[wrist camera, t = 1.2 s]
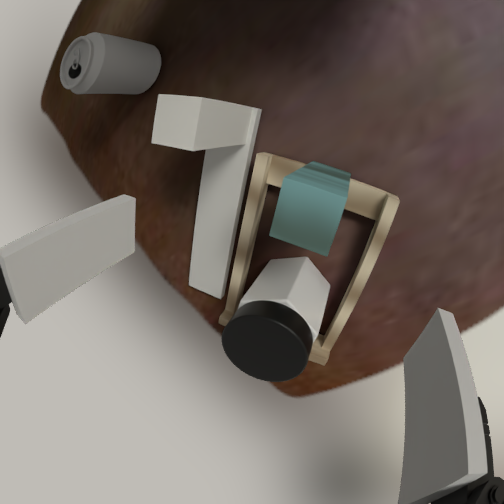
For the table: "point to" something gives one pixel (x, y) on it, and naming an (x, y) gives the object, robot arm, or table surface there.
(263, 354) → the jar
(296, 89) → the table surface
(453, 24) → the table surface
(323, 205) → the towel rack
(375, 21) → the table surface
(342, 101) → the table surface
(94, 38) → the can
